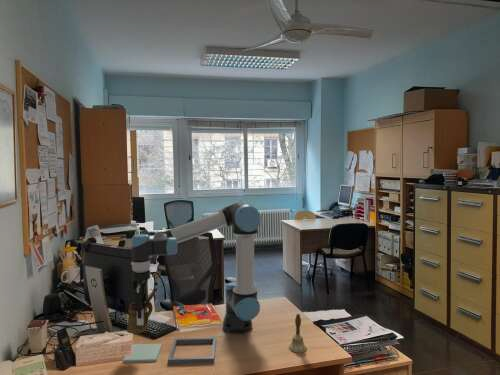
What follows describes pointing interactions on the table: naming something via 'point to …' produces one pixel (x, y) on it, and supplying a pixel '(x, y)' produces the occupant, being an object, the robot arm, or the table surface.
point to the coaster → (144, 353)
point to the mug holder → (192, 360)
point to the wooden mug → (132, 319)
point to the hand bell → (297, 338)
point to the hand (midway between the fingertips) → (142, 321)
